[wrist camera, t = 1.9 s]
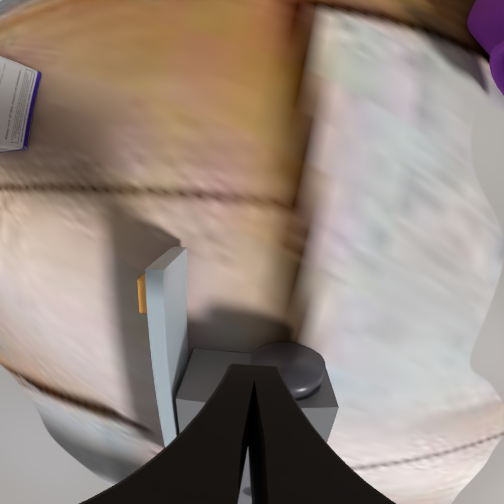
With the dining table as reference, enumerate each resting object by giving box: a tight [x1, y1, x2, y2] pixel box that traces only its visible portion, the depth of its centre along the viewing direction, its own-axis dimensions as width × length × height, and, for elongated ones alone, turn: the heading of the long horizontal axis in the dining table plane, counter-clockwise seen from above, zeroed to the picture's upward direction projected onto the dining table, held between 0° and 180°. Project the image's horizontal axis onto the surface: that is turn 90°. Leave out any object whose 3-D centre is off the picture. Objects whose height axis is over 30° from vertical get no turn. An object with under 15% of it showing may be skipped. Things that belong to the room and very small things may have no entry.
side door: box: [137, 247, 188, 447], centre depth 16 cm, size 18×1×4 cm, turn 176°
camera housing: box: [176, 342, 338, 504], centre depth 17 cm, size 13×8×6 cm, turn 176°
